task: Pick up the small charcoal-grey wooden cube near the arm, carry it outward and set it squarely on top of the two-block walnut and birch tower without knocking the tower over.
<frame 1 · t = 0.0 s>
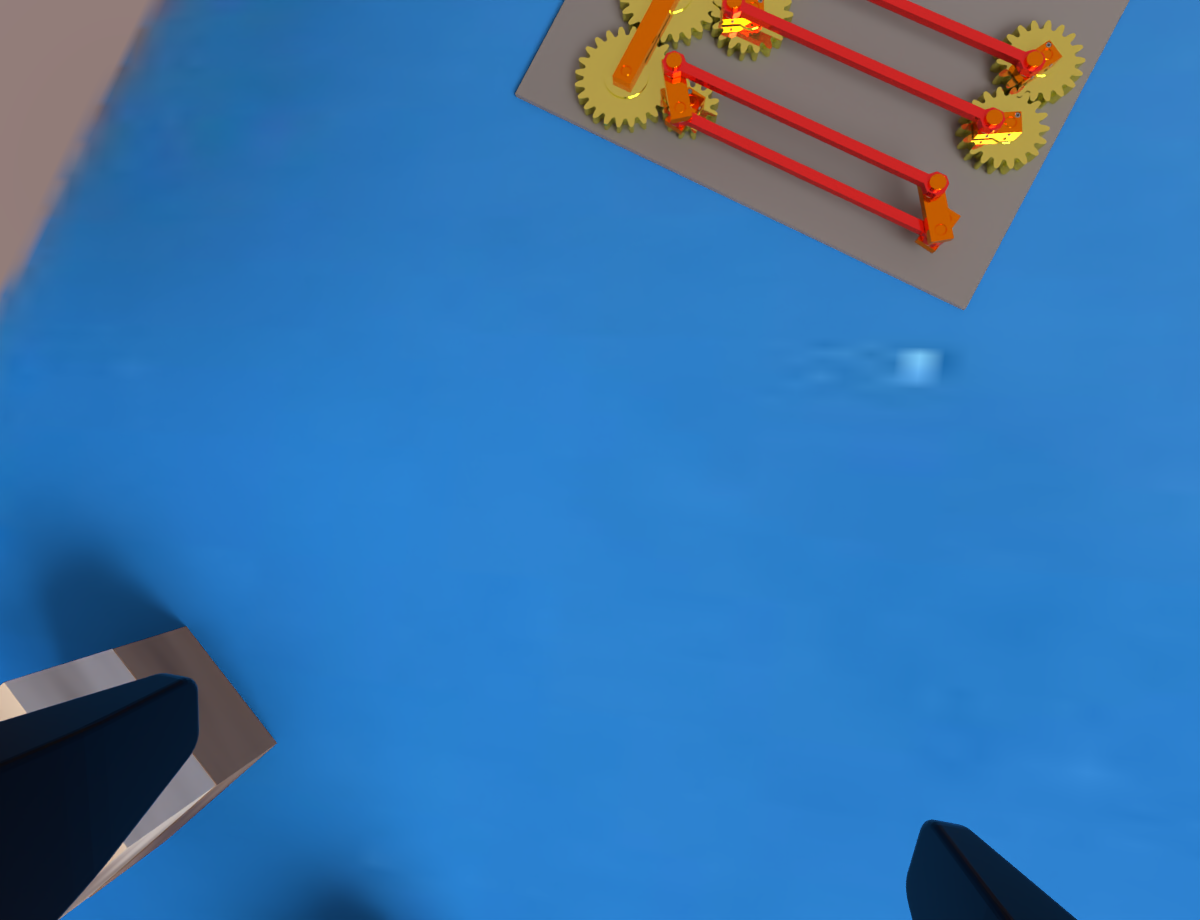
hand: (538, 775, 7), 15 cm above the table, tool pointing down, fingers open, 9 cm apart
tower top: (100, 772, 20), point 3 cm above the table, touching tower bottom
tower bottom: (180, 730, 24), on the table, touching tower top
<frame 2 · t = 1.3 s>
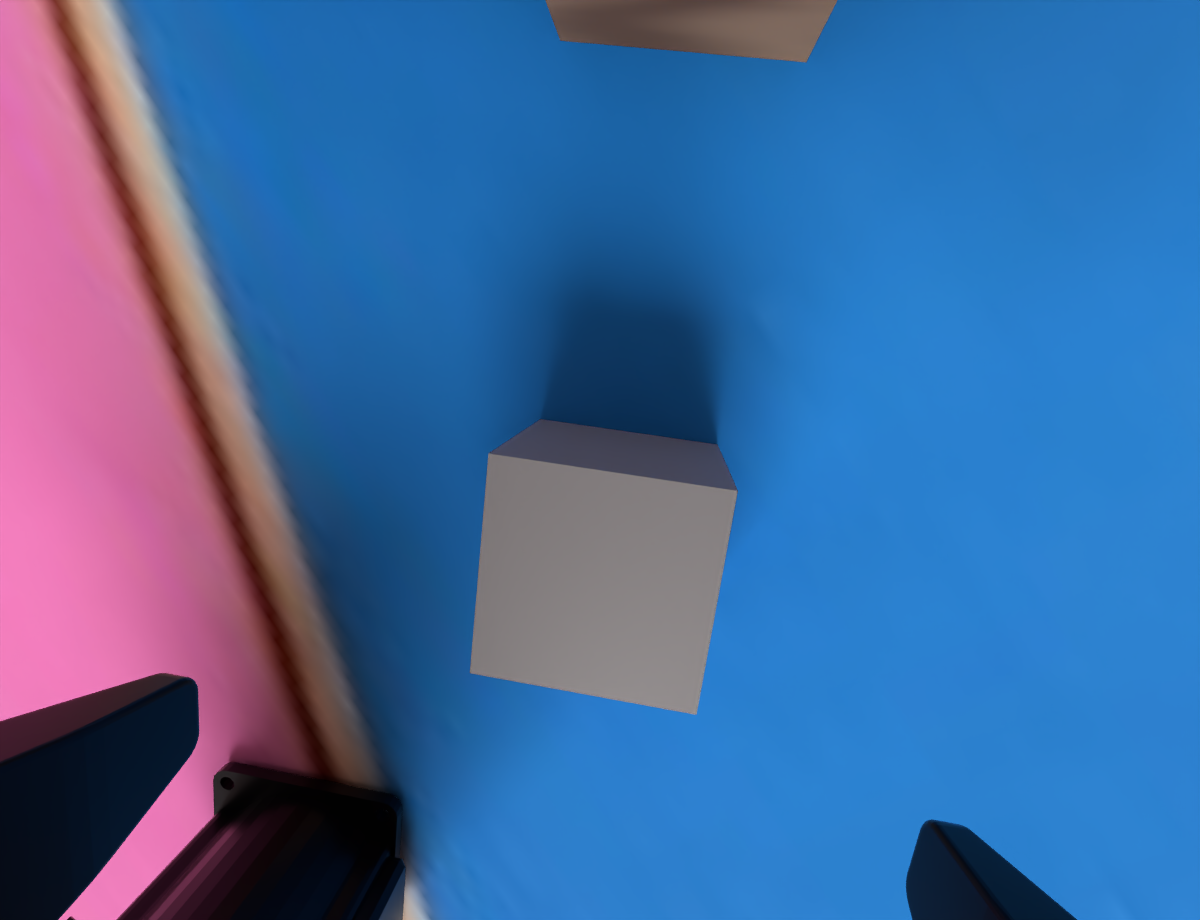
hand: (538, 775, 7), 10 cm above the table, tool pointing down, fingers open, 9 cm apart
cube: (616, 515, 17), on the table
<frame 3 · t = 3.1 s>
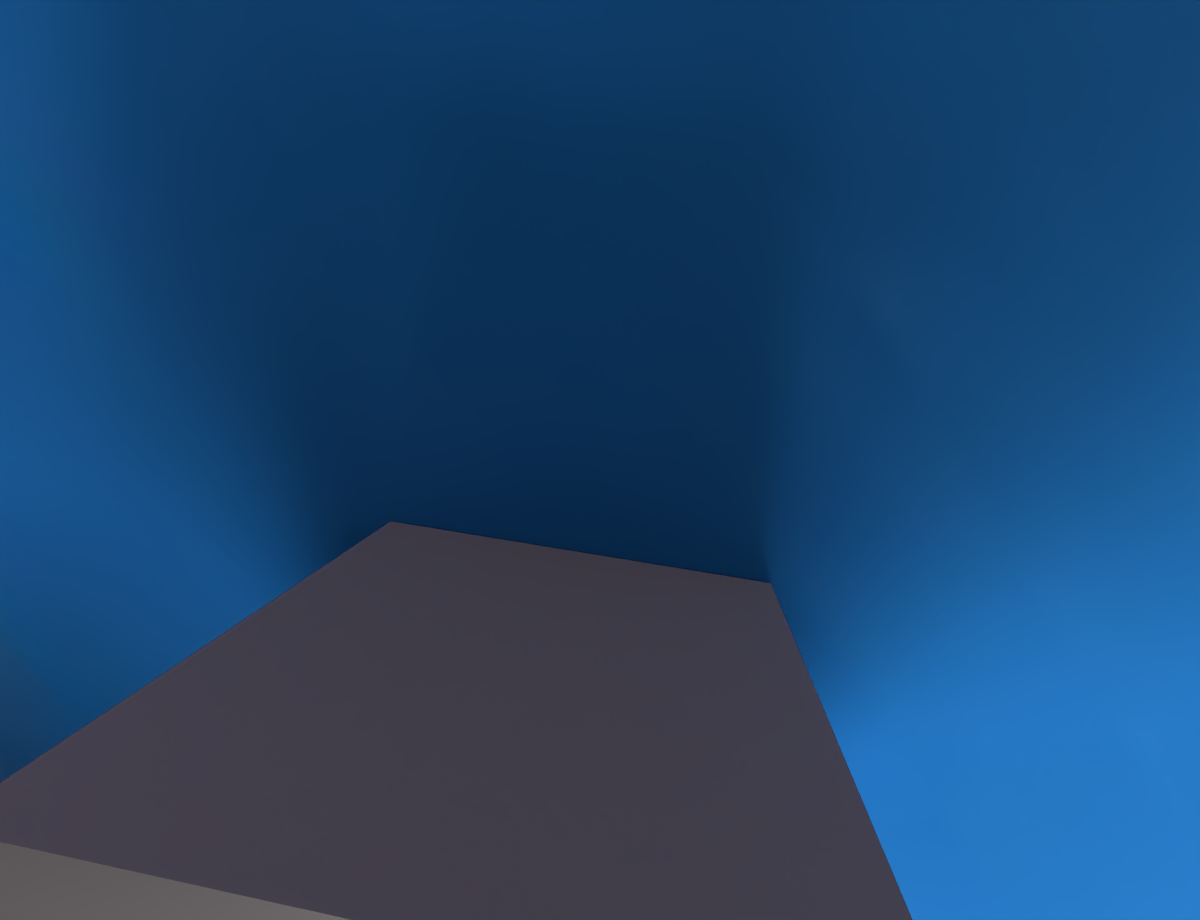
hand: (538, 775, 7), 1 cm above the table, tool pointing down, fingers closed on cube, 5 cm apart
cube: (554, 719, 8), on the table, touching gripper
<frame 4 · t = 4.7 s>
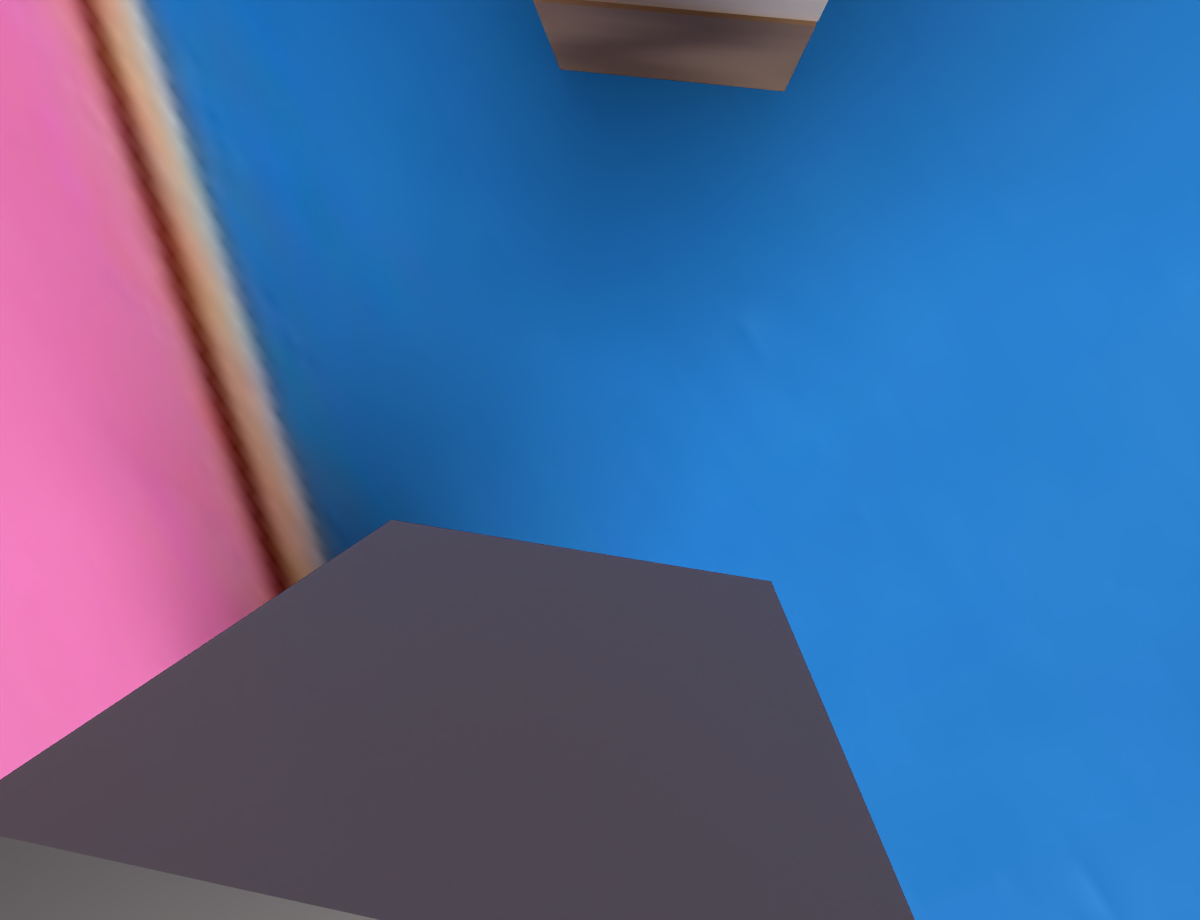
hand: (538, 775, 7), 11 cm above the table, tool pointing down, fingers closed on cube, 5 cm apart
cube: (554, 718, 8), point 10 cm above the table, touching gripper
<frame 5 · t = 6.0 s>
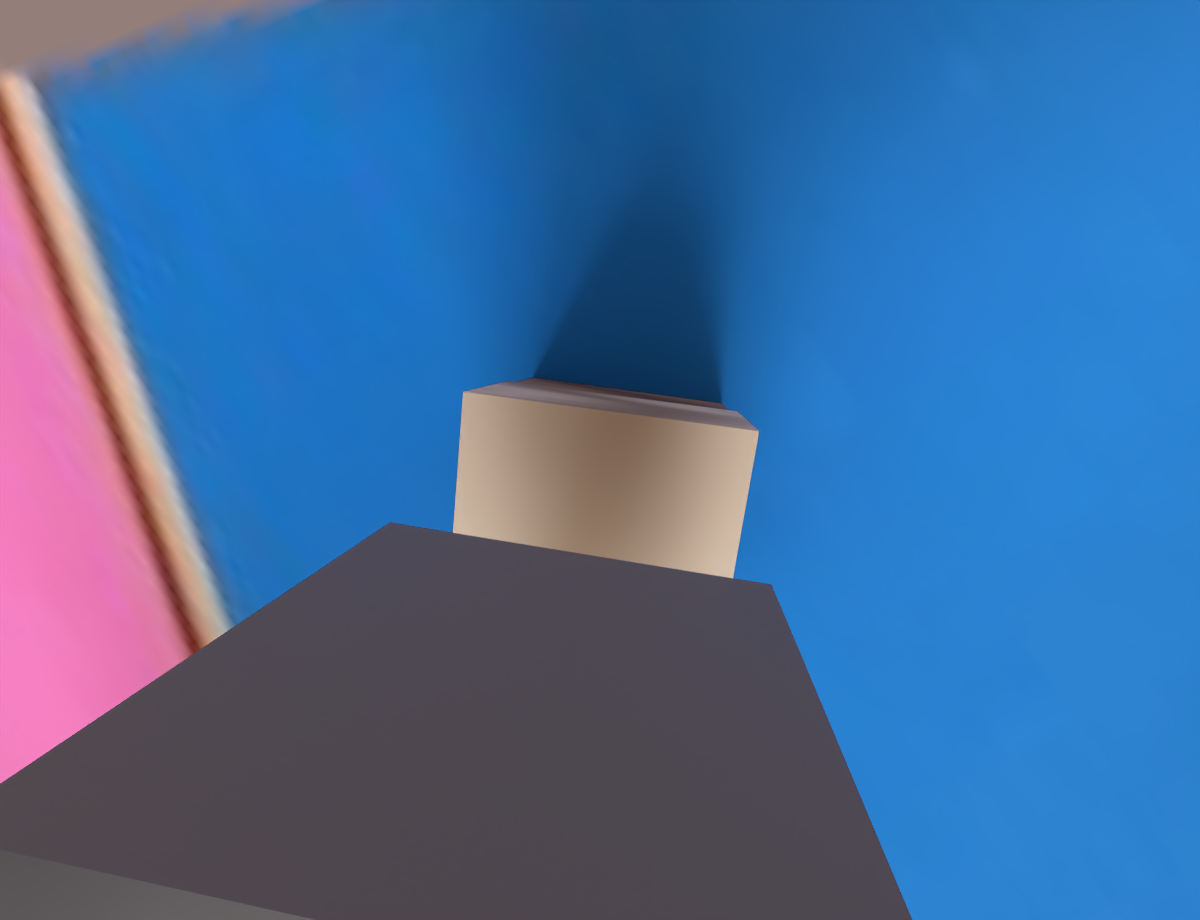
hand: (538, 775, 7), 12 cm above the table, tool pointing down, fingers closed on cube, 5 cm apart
cube: (554, 721, 8), point 11 cm above the table, touching gripper
tower top: (606, 506, 16), point 3 cm above the table, touching tower bottom
tower bottom: (614, 480, 19), on the table, touching tower top
when the fingers open (9 cm above the table, at t = 7.4 s): cube drops 2 cm, resting on tower top.
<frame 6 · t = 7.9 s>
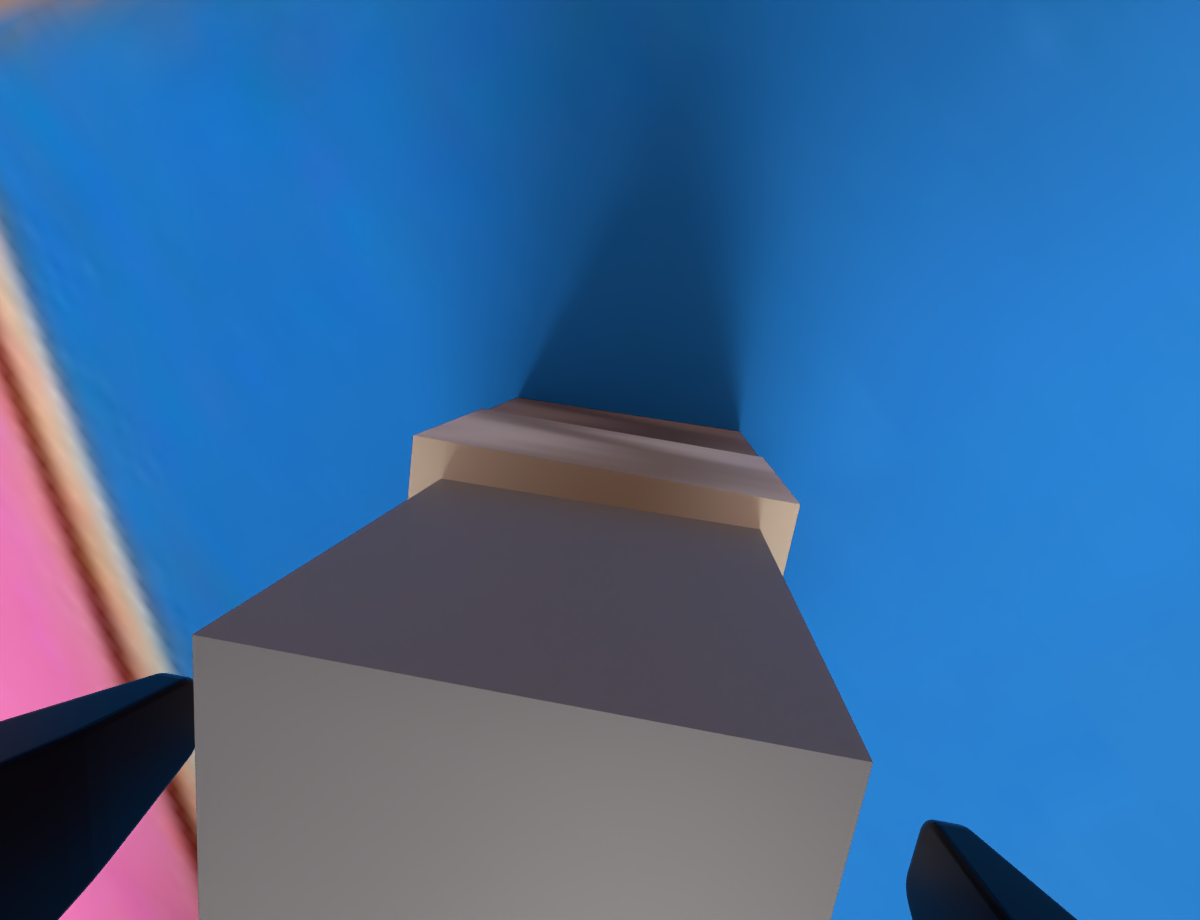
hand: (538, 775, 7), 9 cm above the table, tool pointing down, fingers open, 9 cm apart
cube: (577, 648, 10), point 7 cm above the table, touching tower top
tower top: (598, 564, 13), point 3 cm above the table, touching cube, tower bottom
tower bottom: (611, 519, 16), on the table, touching tower top
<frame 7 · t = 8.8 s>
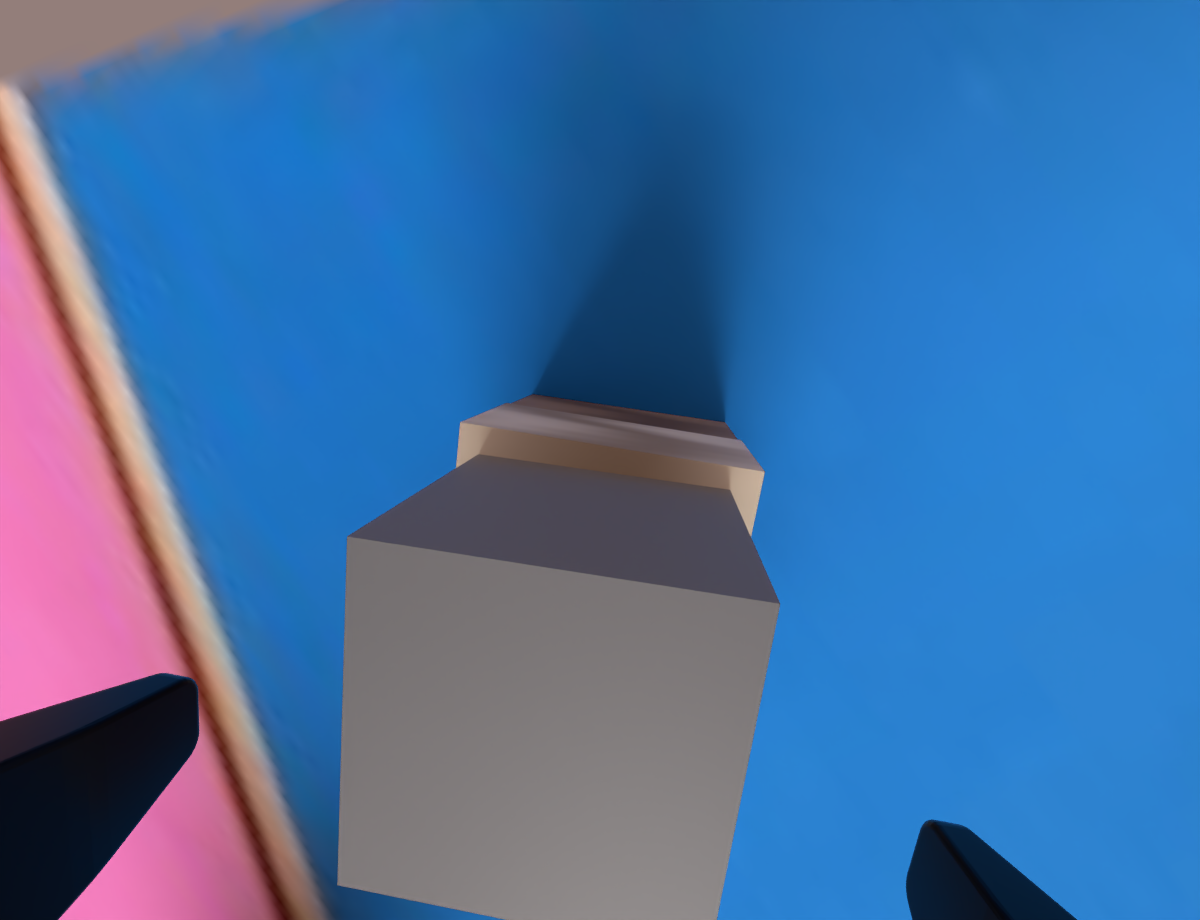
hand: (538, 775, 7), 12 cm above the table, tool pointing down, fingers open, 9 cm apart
cube: (587, 589, 12), point 7 cm above the table, touching tower top
tower top: (605, 533, 15), point 3 cm above the table, touching cube, tower bottom
tower bottom: (614, 499, 19), on the table, touching tower top
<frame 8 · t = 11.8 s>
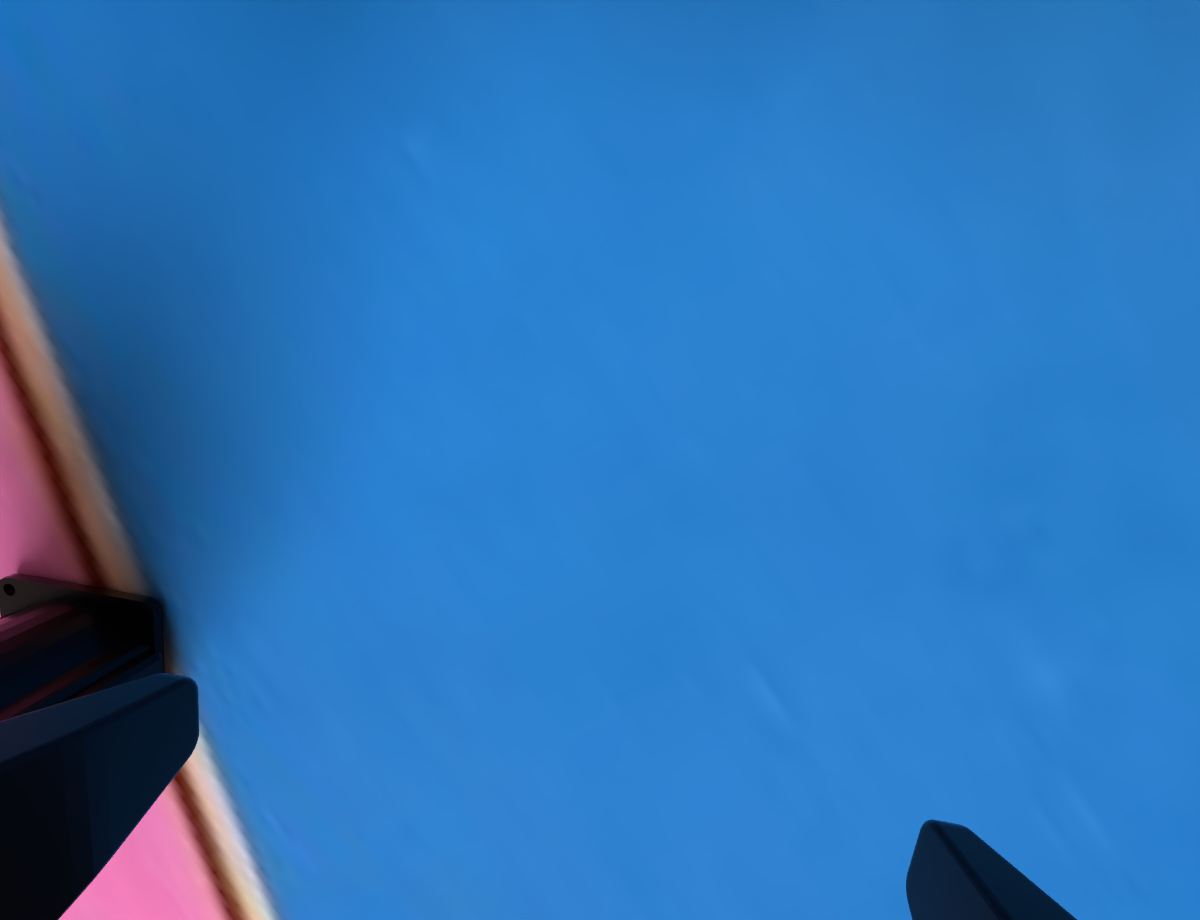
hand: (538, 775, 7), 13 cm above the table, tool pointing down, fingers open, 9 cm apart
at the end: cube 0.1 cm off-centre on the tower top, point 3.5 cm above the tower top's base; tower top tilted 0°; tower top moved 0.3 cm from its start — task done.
